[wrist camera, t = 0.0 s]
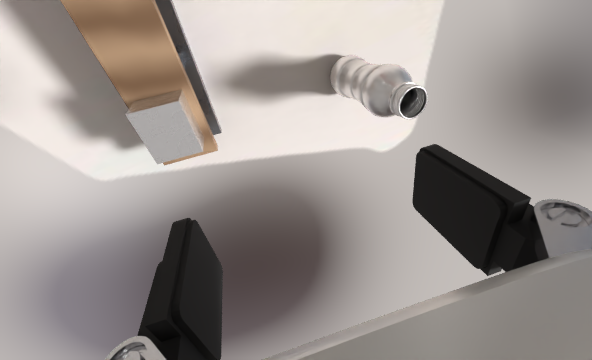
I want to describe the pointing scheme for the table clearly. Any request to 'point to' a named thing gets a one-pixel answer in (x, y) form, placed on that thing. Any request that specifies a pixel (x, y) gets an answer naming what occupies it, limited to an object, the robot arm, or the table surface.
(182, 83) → the balance beam
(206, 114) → the beam stand
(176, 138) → the block
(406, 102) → the plastic bottle
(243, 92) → the table surface
